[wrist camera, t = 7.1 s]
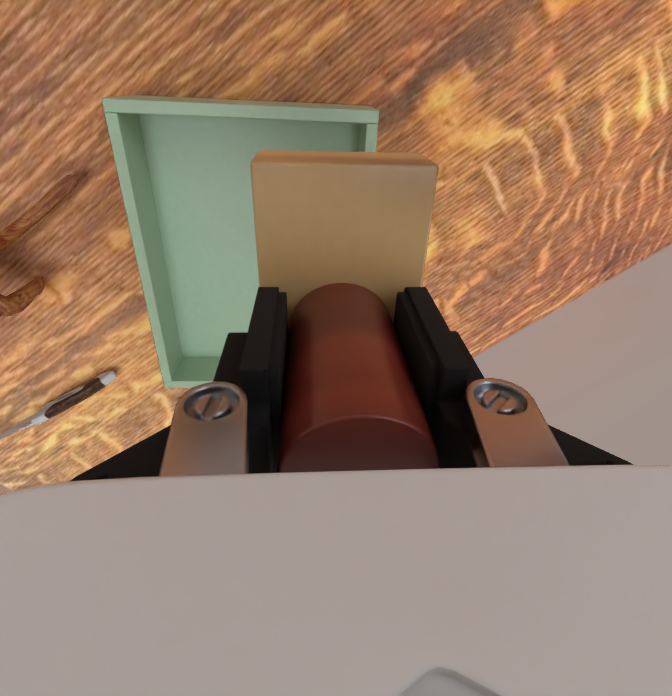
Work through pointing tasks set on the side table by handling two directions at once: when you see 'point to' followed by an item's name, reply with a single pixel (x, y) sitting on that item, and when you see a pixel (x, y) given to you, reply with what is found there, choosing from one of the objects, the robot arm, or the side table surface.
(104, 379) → the pocket knife
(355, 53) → the side table surface
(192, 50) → the side table surface
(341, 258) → the stamp
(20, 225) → the wooden animal figurine
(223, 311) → the tray
